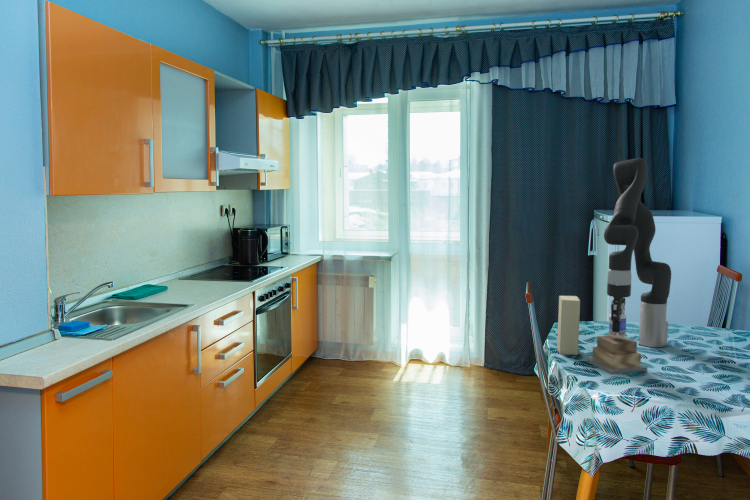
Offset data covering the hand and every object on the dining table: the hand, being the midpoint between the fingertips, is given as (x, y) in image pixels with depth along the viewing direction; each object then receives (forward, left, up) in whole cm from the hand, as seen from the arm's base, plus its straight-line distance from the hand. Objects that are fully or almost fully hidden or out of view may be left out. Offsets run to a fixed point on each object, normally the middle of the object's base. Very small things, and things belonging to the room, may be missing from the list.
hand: (617, 329), depth 185 cm
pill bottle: (0, 0, -2) cm, 2 cm away
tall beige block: (+7, -19, -13) cm, 24 cm away
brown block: (0, 0, -12) cm, 12 cm away
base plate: (0, 0, -13) cm, 13 cm away
